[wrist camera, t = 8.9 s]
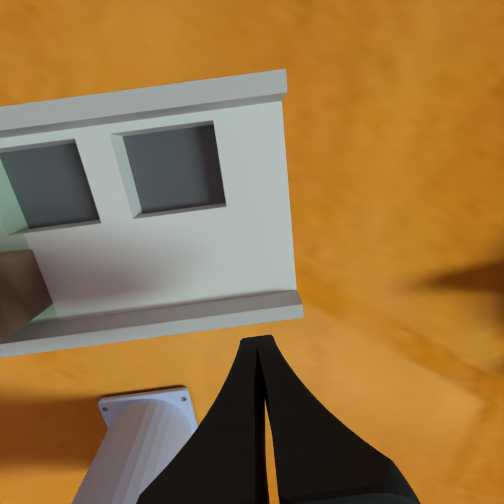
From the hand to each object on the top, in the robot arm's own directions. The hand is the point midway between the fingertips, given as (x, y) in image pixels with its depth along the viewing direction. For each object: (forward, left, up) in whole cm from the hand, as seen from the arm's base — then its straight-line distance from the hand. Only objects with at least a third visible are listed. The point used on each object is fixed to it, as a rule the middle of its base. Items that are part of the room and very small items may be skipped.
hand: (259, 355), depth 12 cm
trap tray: (+5, +8, -9) cm, 13 cm away
